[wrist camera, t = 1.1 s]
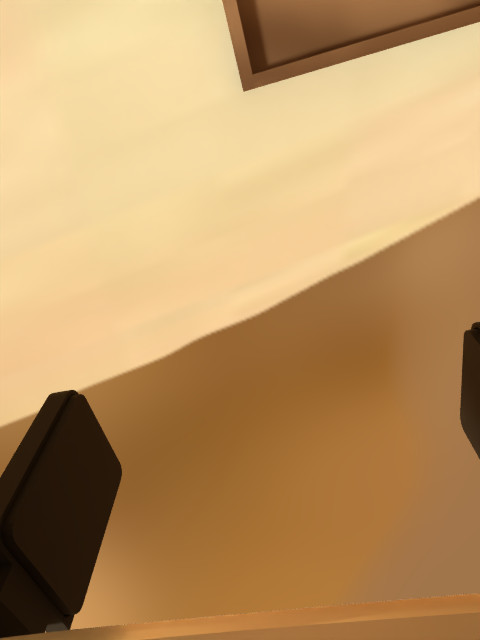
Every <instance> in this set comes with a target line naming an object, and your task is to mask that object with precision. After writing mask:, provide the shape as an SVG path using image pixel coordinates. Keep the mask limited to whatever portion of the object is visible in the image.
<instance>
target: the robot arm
mask: <svg viewBox="0 0 480 640" xmlns="http://www.w3.org/2000/svg"><path fill="white" fill-rule="evenodd" d="M463 343H464V344H463V365H462V386H461V408H460V419H461V424H462V427H463V430H464V432H465V434H466V435H467V437H468V439H469V441H470V442H471V444H472V446H473V448H474V450H475V451H476V453H477V455H478V457H479V459H480V322H476V323H474V324H473V325H472V327H471V330H467V331H465V333H464V342H463ZM121 476H122V469H121V465H120V462H119V460H118V459H117V457H116V455H115V453H114V451H113V449H112V447H111V445H110V443H109V442H108V440H107V438H106V436H105V434H104V432H103V430H102V428H101V426H100V424H99V423H98V421H97V419H96V417H95V415H94V413H93V411H92V409H91V408H90V406H89V403H88V402H87V400H86V398H85V396H84V395H82V394H78V393H77V392H76V391H75V390H69V391H63V392H57V393H52V394H50V395H49V396H48V397H47V399H46V401H45V403H44V404H43V406H42V408H41V409H40V411H39V413H38V414H37V416H36V418H35V420H34V421H33V423H32V425H31V426H30V428H29V430H28V432H27V433H26V435H25V437H24V438H23V440H22V442H21V443H20V445H19V447H18V448H17V450H16V452H15V454H14V455H13V457H12V459H11V460H10V462H9V464H8V466H7V467H6V469H5V471H4V472H3V474H2V476H1V478H0V640H480V593H478V594H463V595H451V596H440V597H428V598H417V599H404V600H392V601H381V602H369V603H358V604H345V605H335V606H323V607H311V608H300V609H289V610H278V611H266V612H257V613H256V612H255V613H244V614H233V615H222V616H212V617H202V618H189V619H179V620H169V621H158V622H147V623H137V624H127V625H116V626H106V627H95V628H85V629H75V630H70V627H71V624H72V621H73V618H74V615H75V614H77V613H78V612H79V611H80V610H81V608H82V605H83V602H84V599H85V596H86V593H87V589H88V586H89V583H90V579H91V576H92V573H93V570H94V566H95V563H96V560H97V556H98V553H99V550H100V547H101V543H102V540H103V537H104V533H105V530H106V527H107V523H108V520H109V517H110V514H111V510H112V507H113V504H114V500H115V497H116V494H117V491H118V487H119V484H120V480H121ZM45 631H46V632H47V633H45Z"/></svg>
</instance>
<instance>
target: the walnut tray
mask: <svg viewBox="0 0 480 640" xmlns="http://www.w3.org/2000/svg"><path fill="white" fill-rule="evenodd" d="M222 1H223V5H224V9H225V14H226V18H227V22H228V27H229V31H230V35H231V40H232V44H233V48H234V52H235V57H236V61H237V65H238V70H239V74H240V78H241V83H242V87H243V91H248V90H251V89H254V88H258V87H261V86H264V85H268V84H271V83H275V82H278V81H281V80H285V79H288V78H291V77H295V76H298V75H302V74H305V73H308V72H312V71H315V70H318V69H322V68H325V67H329V66H332V65H335V64H339V63H342V62H345V61H349V60H352V59H355V58H359V57H362V56H366V55H369V54H372V53H376V52H379V51H382V50H386V49H389V48H393V47H396V46H399V45H403V44H406V43H409V42H413V41H416V40H420V39H423V38H426V37H430V36H433V35H436V34H440V33H443V32H447V31H450V30H453V29H457V28H460V27H463V26H467V25H470V24H474V23H477V22H480V0H222Z"/></svg>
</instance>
